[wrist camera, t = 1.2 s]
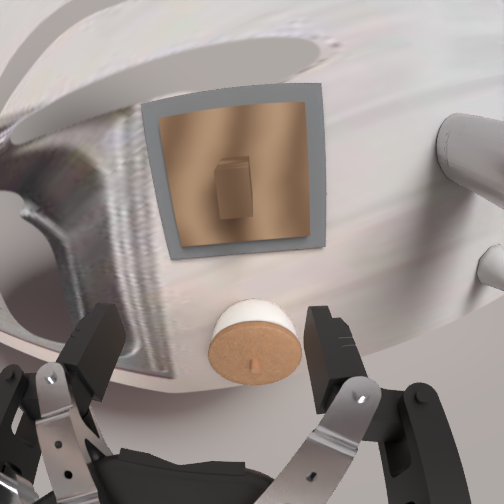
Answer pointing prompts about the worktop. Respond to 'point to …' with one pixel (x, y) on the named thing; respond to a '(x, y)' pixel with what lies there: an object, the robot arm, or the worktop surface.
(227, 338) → the lidded jar
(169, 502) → the robot arm
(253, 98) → the mat
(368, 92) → the worktop surface
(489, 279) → the flask
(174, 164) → the lid
